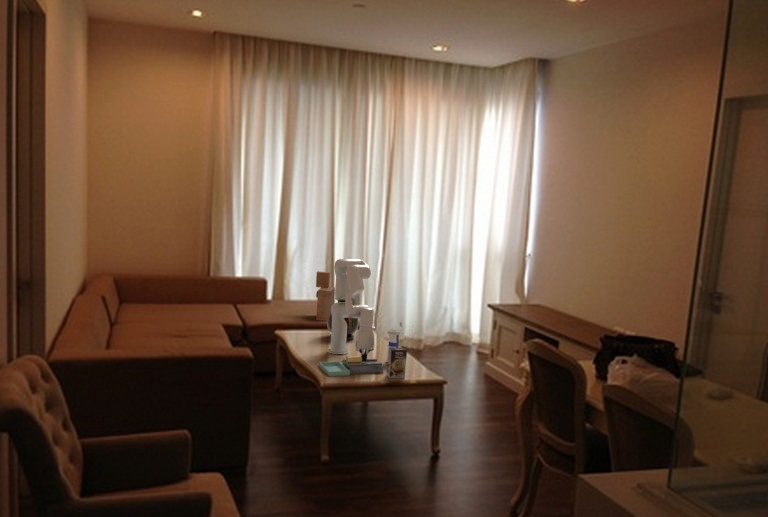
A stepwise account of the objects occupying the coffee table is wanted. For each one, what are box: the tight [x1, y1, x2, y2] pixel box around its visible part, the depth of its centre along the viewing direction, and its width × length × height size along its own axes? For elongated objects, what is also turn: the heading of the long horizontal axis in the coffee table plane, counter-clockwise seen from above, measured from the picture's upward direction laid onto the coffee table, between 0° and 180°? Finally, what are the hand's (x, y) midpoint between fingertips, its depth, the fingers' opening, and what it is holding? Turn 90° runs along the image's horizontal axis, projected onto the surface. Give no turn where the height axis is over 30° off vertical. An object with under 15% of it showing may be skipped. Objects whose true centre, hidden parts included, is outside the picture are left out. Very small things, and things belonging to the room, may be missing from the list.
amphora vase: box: [326, 297, 360, 341], centre depth 463 cm, size 22×22×28 cm
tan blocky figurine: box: [315, 271, 335, 322], centre depth 526 cm, size 19×14×35 cm
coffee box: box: [386, 347, 408, 379], centre depth 377 cm, size 9×6×16 cm
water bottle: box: [385, 322, 403, 363], centre depth 408 cm, size 8×9×25 cm
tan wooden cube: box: [345, 355, 355, 364], centre depth 384 cm, size 4×4×4 cm
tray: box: [318, 361, 351, 377], centre depth 381 cm, size 20×12×2 cm, turn 21°
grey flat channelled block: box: [341, 358, 384, 375], centre depth 387 cm, size 14×20×5 cm
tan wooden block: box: [353, 355, 362, 363], centre depth 385 cm, size 4×4×4 cm
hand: (363, 360), depth 387 cm, fingers closed
